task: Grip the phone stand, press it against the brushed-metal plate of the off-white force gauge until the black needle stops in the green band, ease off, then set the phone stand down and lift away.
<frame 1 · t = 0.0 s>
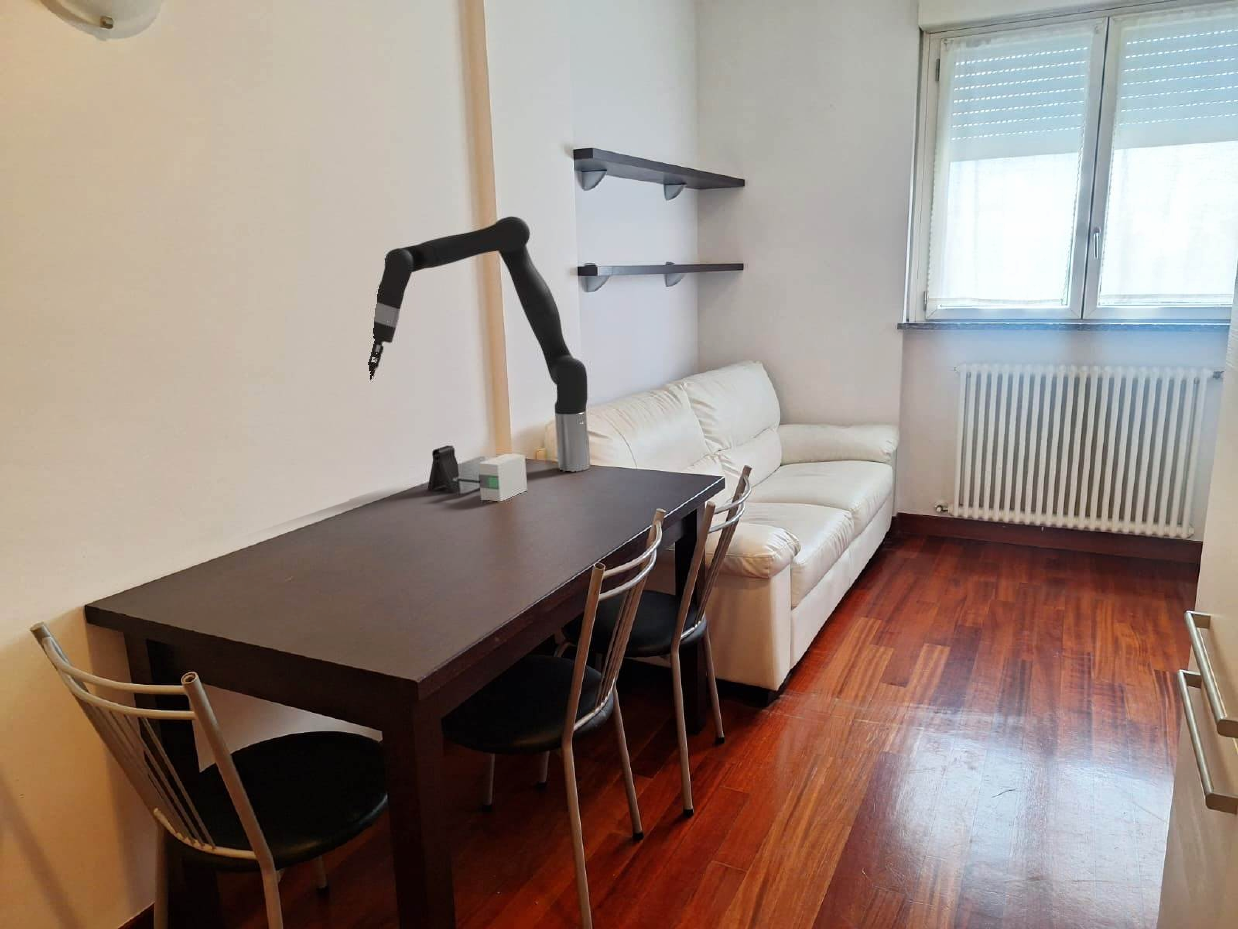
hand: (366, 380, 226), 31 cm above the table, tool tilted 20°, fingers open, 8 cm apart
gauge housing: (487, 493, 227), on the table
phone stand: (447, 490, 234), on the table
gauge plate: (480, 476, 226), point 5 cm above the table, slide at 0.0 cm
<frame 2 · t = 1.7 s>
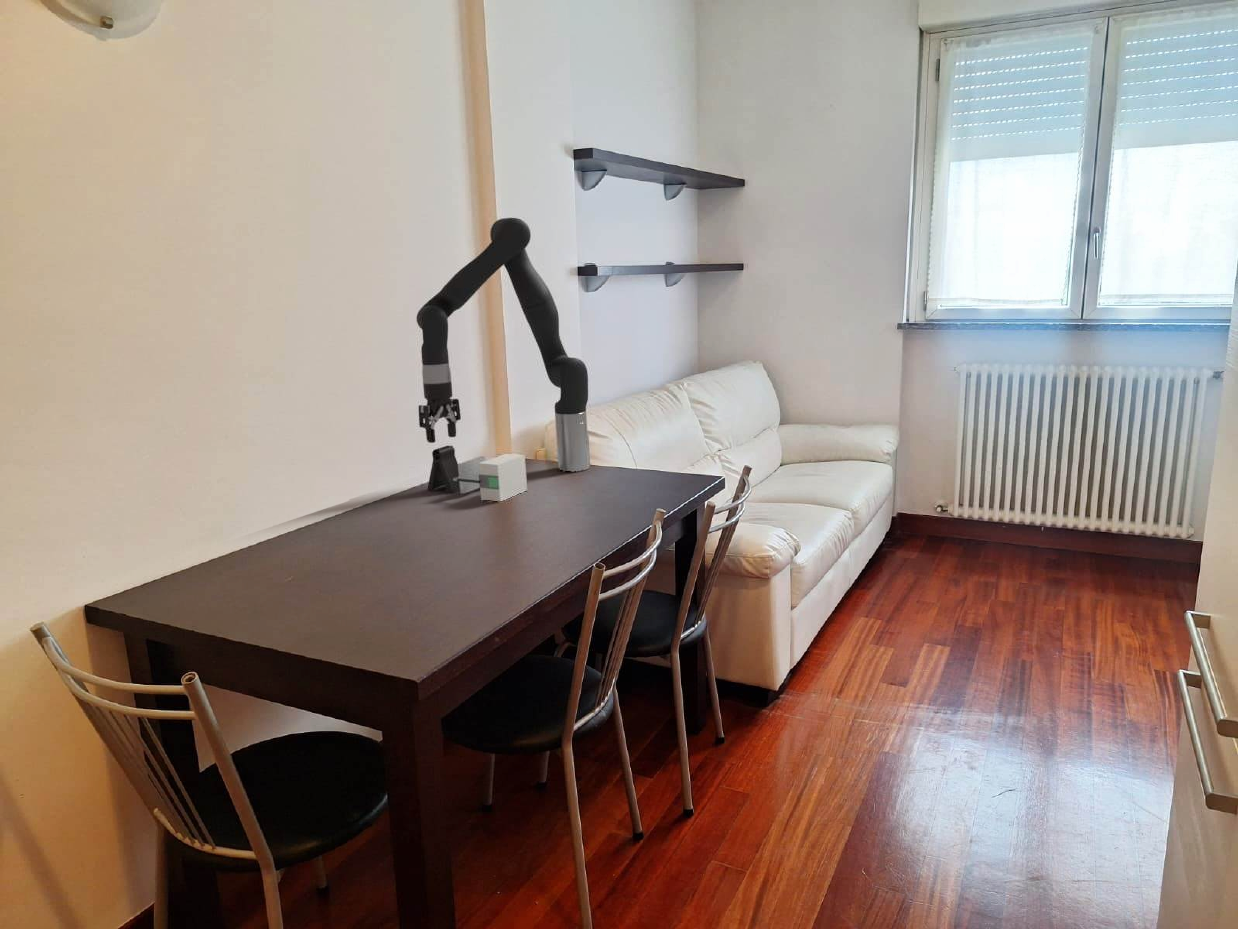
hand: (442, 439, 231), 14 cm above the table, tool pointing down, fingers open, 8 cm apart
nothing on the table moved.
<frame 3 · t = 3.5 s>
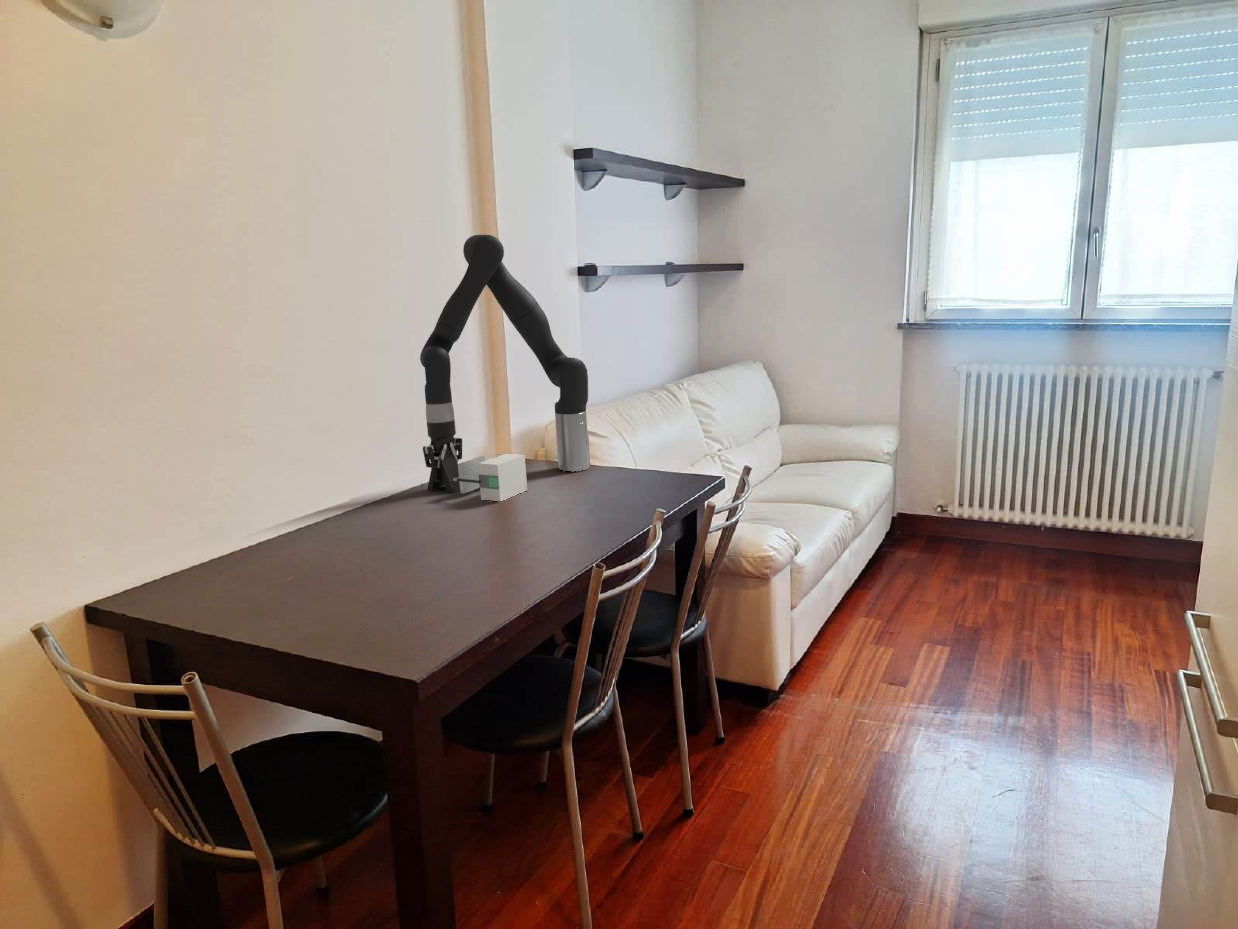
hand: (446, 478, 234), 3 cm above the table, tool pointing down, fingers closed on phone stand, 6 cm apart
phone stand: (447, 490, 234), on the table, touching gripper
everything else where it was.
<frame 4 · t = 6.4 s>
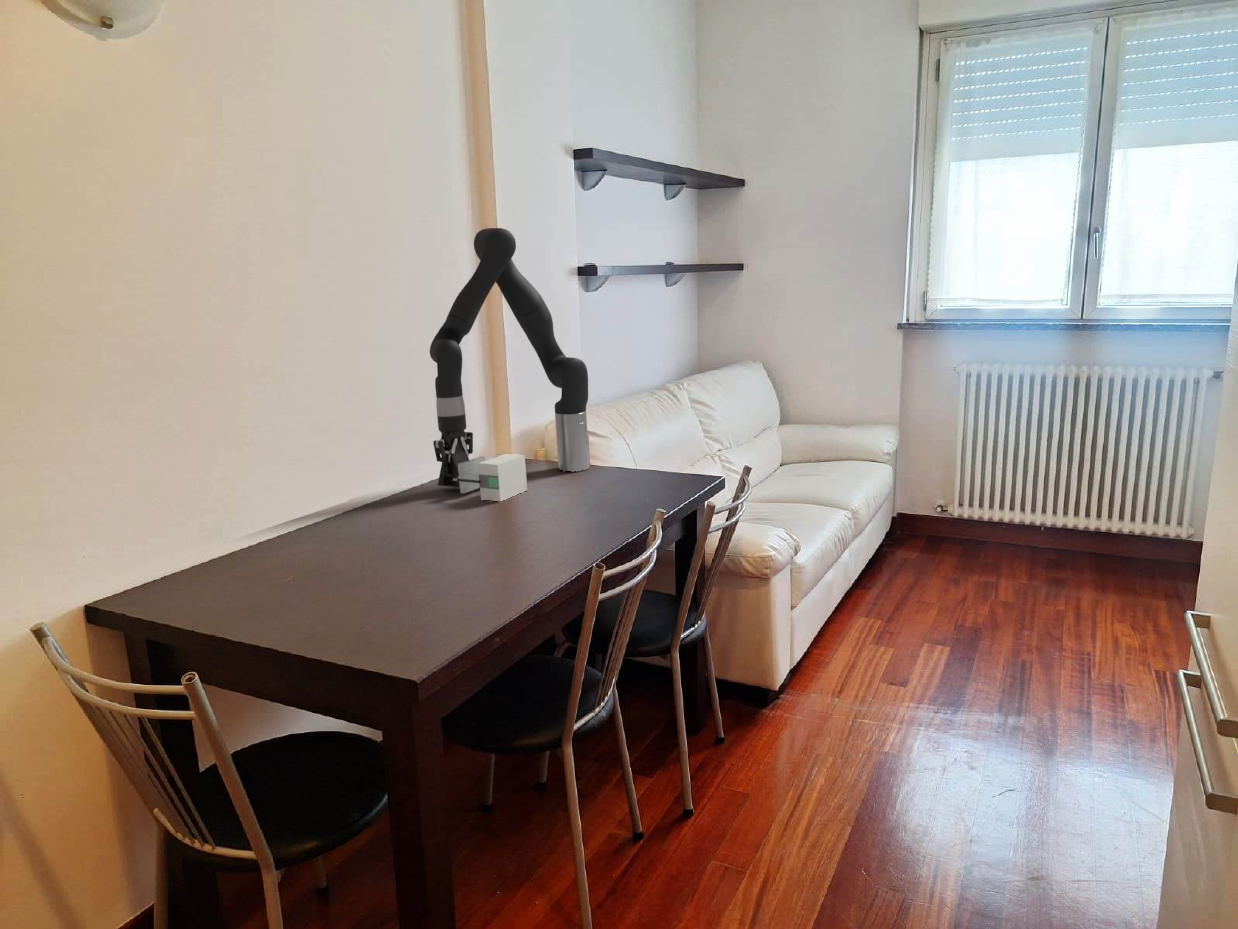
hand: (456, 473, 231), 5 cm above the table, tool pointing down, fingers closed on phone stand, 6 cm apart
phone stand: (457, 484, 232), point 2 cm above the table, touching gripper
everything else where it was.
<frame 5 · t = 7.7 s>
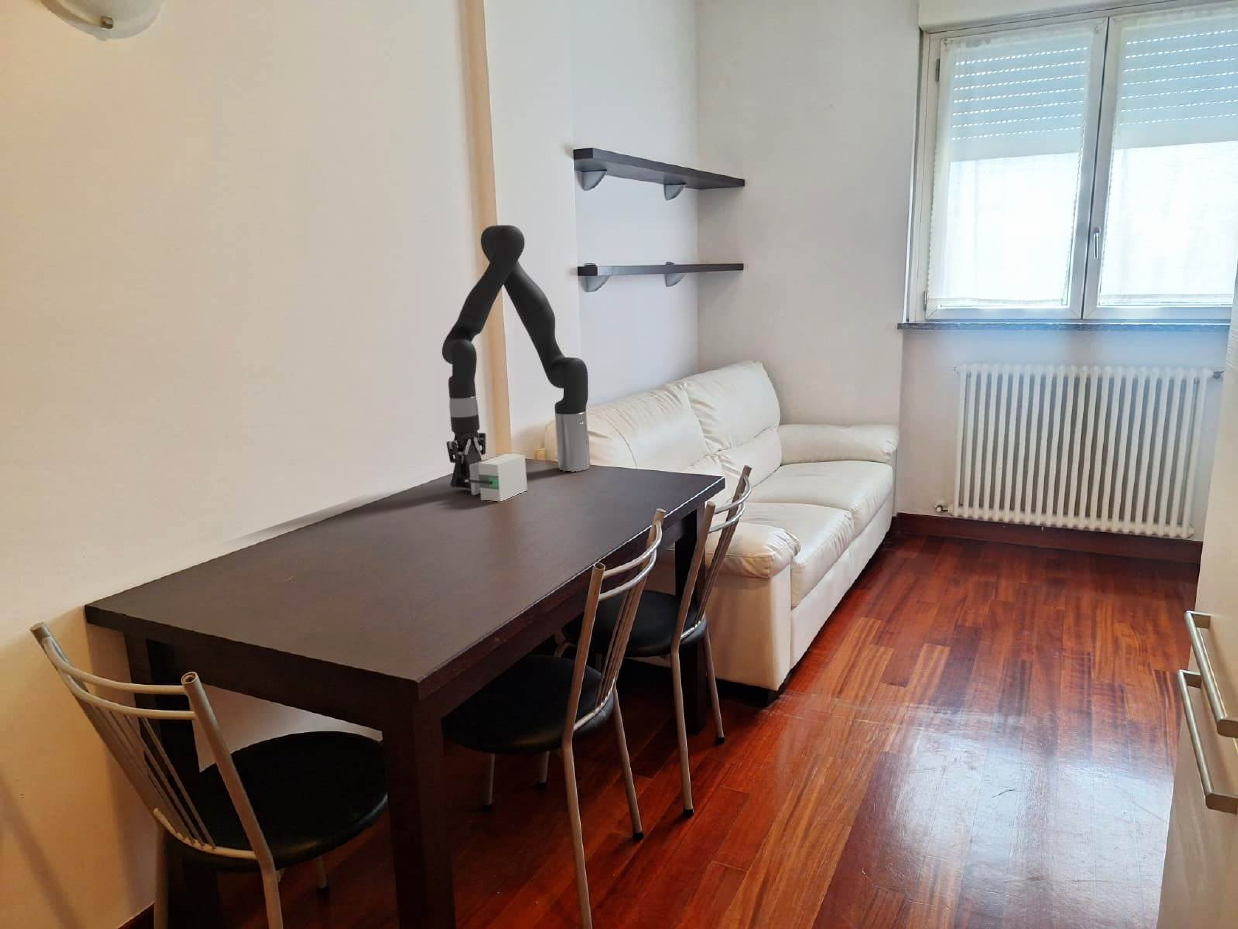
hand: (469, 474, 229), 5 cm above the table, tool pointing down, fingers closed on phone stand, 6 cm apart
phone stand: (470, 486, 230), point 2 cm above the table, touching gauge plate, gripper
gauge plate: (492, 477, 224), point 5 cm above the table, slide at 3.9 cm, touching phone stand
when the fingers open (4 cm above the table, at t = 9.4 s): phone stand stays where it is, on the table.
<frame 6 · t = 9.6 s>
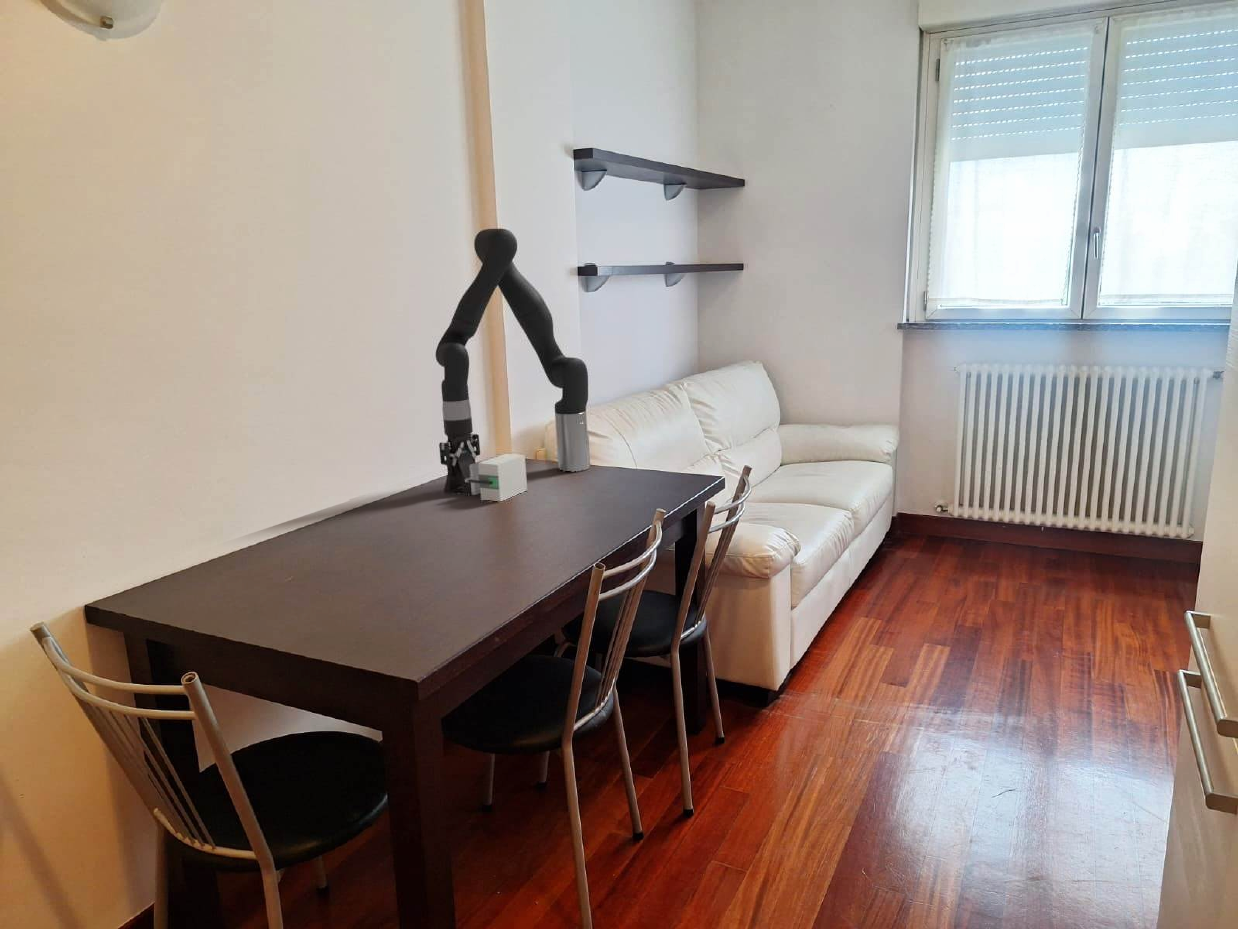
hand: (462, 475, 230), 4 cm above the table, tool pointing down, fingers open, 7 cm apart
phone stand: (464, 492, 231), on the table
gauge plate: (492, 477, 224), point 5 cm above the table, slide at 3.9 cm
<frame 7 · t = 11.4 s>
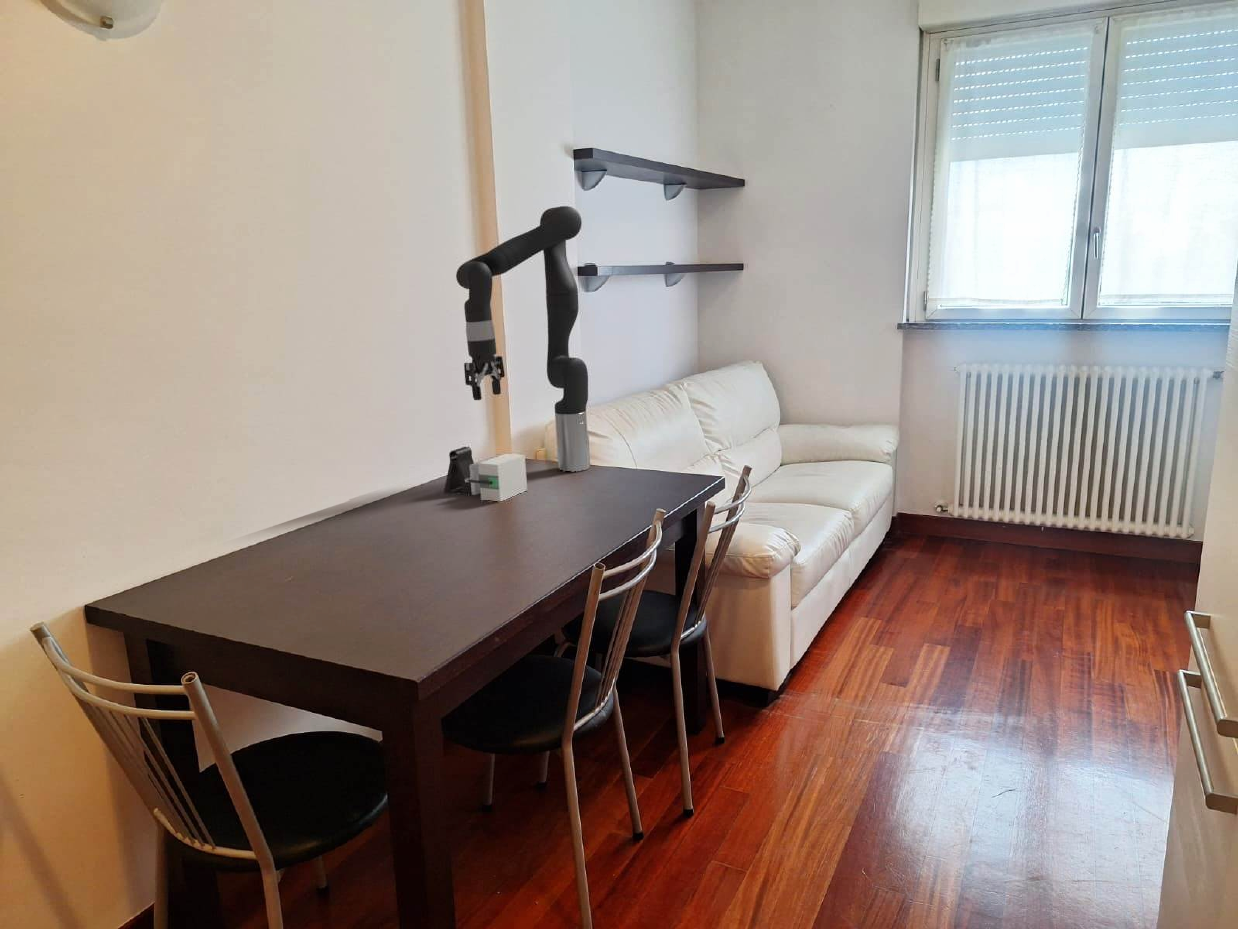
hand: (487, 397, 231), 25 cm above the table, tool pointing down, fingers open, 8 cm apart
nothing on the table moved.
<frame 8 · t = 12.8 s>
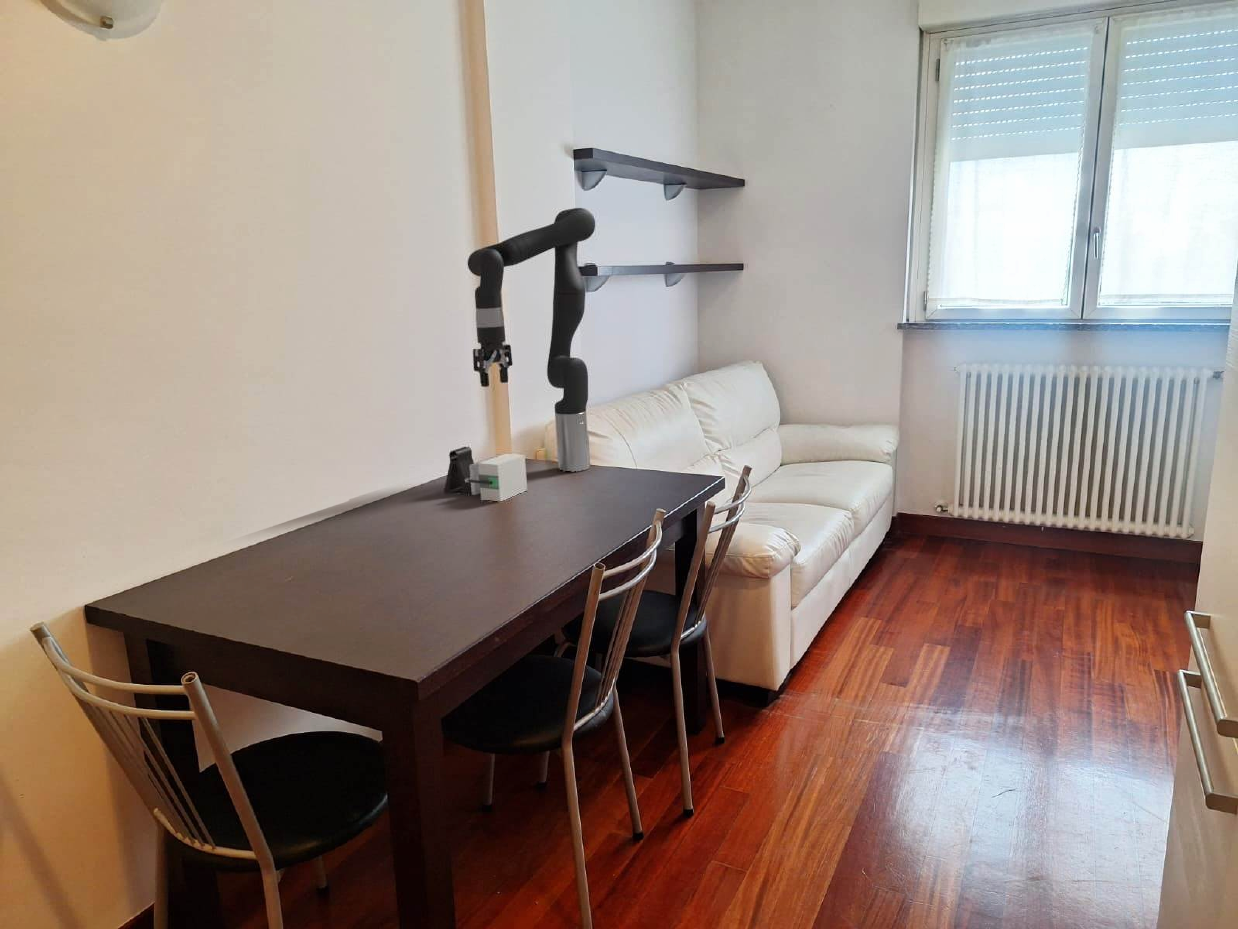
hand: (494, 384, 232), 28 cm above the table, tool pointing down, fingers open, 8 cm apart
nothing on the table moved.
at the end: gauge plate slide at 3.9 cm; the gripper is holding nothing; phone stand tilted 0° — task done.
